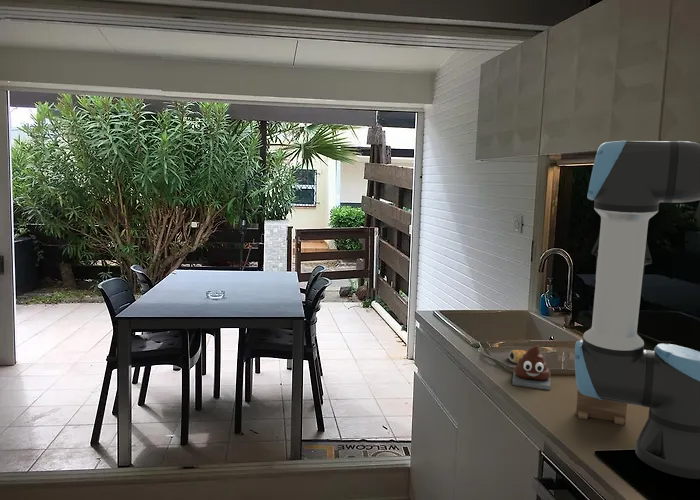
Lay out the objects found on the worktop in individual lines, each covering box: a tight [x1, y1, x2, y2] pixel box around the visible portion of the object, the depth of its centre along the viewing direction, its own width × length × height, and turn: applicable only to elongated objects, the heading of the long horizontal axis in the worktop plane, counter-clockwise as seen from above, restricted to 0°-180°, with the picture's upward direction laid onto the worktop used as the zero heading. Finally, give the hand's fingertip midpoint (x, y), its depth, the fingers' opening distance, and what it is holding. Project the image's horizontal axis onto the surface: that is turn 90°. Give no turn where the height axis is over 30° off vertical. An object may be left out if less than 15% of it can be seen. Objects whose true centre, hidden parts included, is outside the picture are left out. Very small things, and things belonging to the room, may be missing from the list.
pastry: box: [508, 349, 528, 365], centre depth 180 cm, size 9×7×4 cm
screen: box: [575, 388, 628, 426], centre depth 137 cm, size 5×11×14 cm, turn 72°
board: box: [511, 372, 551, 391], centre depth 161 cm, size 10×10×1 cm
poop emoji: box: [513, 345, 552, 381], centre depth 161 cm, size 10×8×9 cm
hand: (617, 284), depth 159 cm, fingers open, 13 cm apart
